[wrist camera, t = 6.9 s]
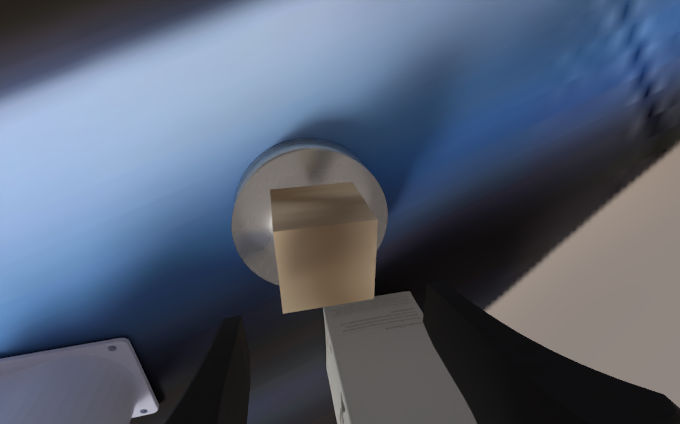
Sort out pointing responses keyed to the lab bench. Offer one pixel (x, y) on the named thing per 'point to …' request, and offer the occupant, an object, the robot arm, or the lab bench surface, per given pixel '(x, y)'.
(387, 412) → the supplement box
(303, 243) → the beech block
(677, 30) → the lab bench surface
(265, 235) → the steel tin
